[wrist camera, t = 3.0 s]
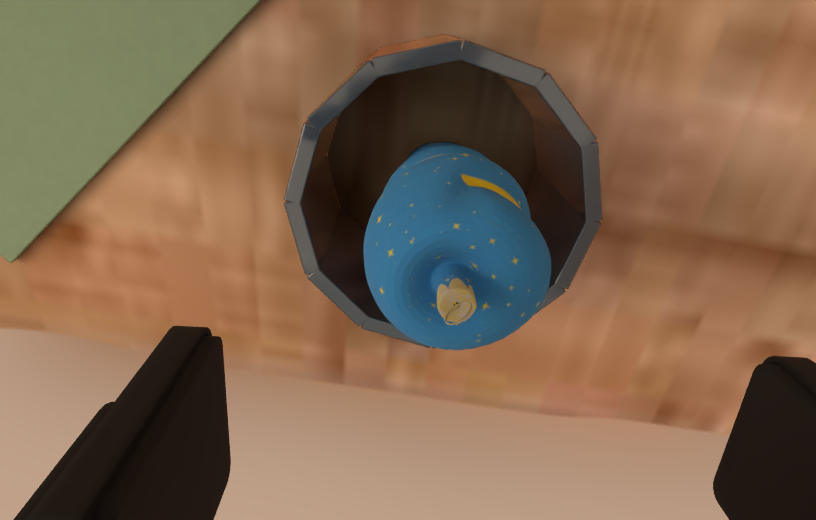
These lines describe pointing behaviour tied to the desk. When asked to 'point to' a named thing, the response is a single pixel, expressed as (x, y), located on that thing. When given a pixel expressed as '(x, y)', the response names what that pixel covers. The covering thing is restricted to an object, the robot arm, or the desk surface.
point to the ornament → (455, 250)
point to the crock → (547, 196)
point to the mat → (87, 91)
